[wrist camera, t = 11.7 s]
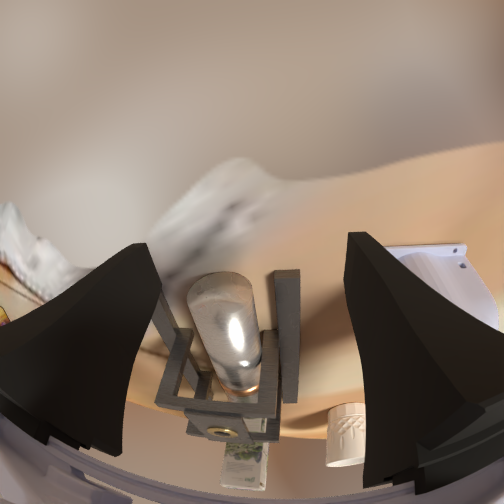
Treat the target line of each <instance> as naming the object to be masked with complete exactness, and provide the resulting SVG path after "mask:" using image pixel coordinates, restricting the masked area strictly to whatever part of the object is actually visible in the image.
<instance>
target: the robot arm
mask: <svg viewBox="0 0 504 504" xmlns="http://www.w3.org/2000/svg"><path fill="white" fill-rule="evenodd" d="M454 249H455V250H454ZM466 251H467V246H466V245H465V244H464V243H460V244H437V245H414V246H391V247H383V246H382V245H381V244H380V243H378V242H377V241H376V240H375V239H374V238H373V237H372V236H370V235H369V234H368V233H367V232H348V241H347V252H346V262H345V271H344V279H343V280H344V287H345V294H346V301H347V306H348V310H349V314H350V318H351V322H352V326H353V330H354V333H355V337H356V342H357V346H358V350H359V354H360V359H361V364H362V371H363V381H364V393H365V414H366V441H365V459H364V471H363V488H369V487H375V486H379V485H384V484H388V483H393V486H392V487H387V488H383V489H378V490H374V491H368V492H363V493H357V494H350V495H342V496H334V497H324V498H309V499H261V498H247V497H236V496H228V495H220V494H213V493H207V492H202V491H196V490H191V489H186V488H182V487H178V486H173V485H169V484H165V483H162V482H158V481H155V480H151V479H148V478H145V477H142V476H139V475H135V474H133V473H130V472H127V471H124V470H122V469H119V468H116V467H114V466H111V465H109V464H106V463H104V462H102V461H99V460H97V459H95V458H93V457H90V456H88V455H86V454H84V453H82V452H80V451H79V448H80V446H81V447H83V448H85V449H87V450H89V449H90V447H92V448H95V449H97V450H99V451H101V452H104V453H106V454H109V455H111V456H114V457H117V456H119V455H120V454H122V429H123V418H124V409H125V401H126V396H127V390H128V385H129V380H130V376H131V372H132V368H133V364H134V361H135V358H136V355H137V352H138V350H139V347H140V345H141V342H142V340H143V337H144V335H145V332H146V330H147V328H148V325H149V323H150V320H151V318H152V316H153V313H154V311H155V308H156V305H157V302H158V298H159V295H160V291H161V287H162V283H161V281H160V278H159V276H158V273H157V271H156V268H155V265H154V263H153V260H152V258H151V255H150V252H149V250H148V247H147V244H146V243H136V244H131V245H130V246H128V247H126V248H124V249H123V250H121V251H120V252H118V253H117V254H115V255H114V256H112V257H111V258H109V259H108V260H107V261H105V262H104V263H103V264H101V265H100V266H98V267H97V268H96V269H94V270H93V271H92V272H90V273H89V274H88V275H86V276H85V277H84V278H82V279H81V280H79V281H78V282H77V283H75V284H74V285H73V286H71V287H70V288H68V289H67V290H66V291H64V292H63V293H61V294H60V295H58V296H57V297H55V298H53V299H52V300H50V301H49V302H47V303H46V304H44V305H42V306H40V307H39V308H37V309H35V310H33V311H31V312H30V313H28V314H26V315H24V316H22V317H20V318H18V319H16V320H14V321H12V322H10V323H7V324H5V325H3V326H0V493H1V495H2V497H3V499H2V498H0V504H132V501H133V500H132V499H131V497H129V496H127V495H125V494H123V493H121V492H118V491H116V490H114V489H111V488H109V487H106V486H103V485H100V484H98V483H95V482H92V481H90V480H87V479H86V478H85V476H84V473H86V474H87V475H89V476H92V477H94V478H96V479H98V480H100V481H102V482H104V483H107V484H109V485H112V486H113V487H116V488H118V489H121V490H123V491H126V492H128V493H131V494H134V495H137V496H139V497H142V498H146V499H148V500H151V501H155V502H158V503H161V504H504V333H502V332H500V331H498V329H499V315H498V309H497V305H496V302H495V300H494V298H493V296H492V294H491V293H490V291H489V290H488V288H487V287H486V285H485V284H484V282H483V281H482V279H481V278H480V276H479V275H478V273H477V272H476V270H475V269H474V268H473V266H472V265H471V263H470V262H469V261H468V259H467V258H466V257H465V254H466ZM83 472H84V473H83Z"/></svg>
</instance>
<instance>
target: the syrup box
mask: <svg viewBox="0 0 504 504" xmlns="http://www.w3.org/2000/svg"><path fill="white" fill-rule="evenodd" d="M243 419H244V422H245V424H246V426H247V428H248V430H249V432H261V433H266V421H267V418H256V419H245V418H243ZM268 452H269V443H263V442H254V444H242V443H230V442H226V448H225V454H224V460H223V466H222V472H221V479H220V484H221V485H222V486H224V487H225V488H230V489H240V490H255V491H264V490H265V484H266V474H267V463H268Z"/></svg>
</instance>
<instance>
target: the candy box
mask: <svg viewBox="0 0 504 504" xmlns="http://www.w3.org/2000/svg"><path fill="white" fill-rule="evenodd" d="M7 323H10V321H9V319H8V317H7V315H6V313H5V312H4V310H3V308H1V307H0V326H3V325H5V324H7Z"/></svg>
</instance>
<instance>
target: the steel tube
mask: <svg viewBox="0 0 504 504" xmlns="http://www.w3.org/2000/svg"><path fill="white" fill-rule="evenodd" d="M187 304H188V307H189V309H190V312H191V314H192V317H193V319H194V322H195V324H196V327H197V329H198V332H199V334H200V337H201V339H202V342H203V344H204V346H205V349H206V351H207V353H208V356H209V358H210V360H211V363H212V365H213V367H214V369H215V372H216V374H217V377H218V380H219V383H220V385H221V387H222V388H223V389H224V391H225V393H226V395H227V397H228V399H229V401H230V402H235V403H257V402H258V391H259V381H260V370H261V358H262V346H261V340H260V334H259V328H258V322H257V315H256V309H255V303H254V297H253V291H252V285H251V283H250V282H249V280H248V279H247V278H245V277H244V276H242V275H240V274H237V273H233V272H218V273H214V274H210V275H207V276H205V277H203V278H201V279H200V280H198V281H197V282H196V283H195V284H194V285H193V286H192V287H191V288H190V290H189V291H188V294H187ZM243 418H245V417H243ZM245 419H256V418H245Z"/></svg>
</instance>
